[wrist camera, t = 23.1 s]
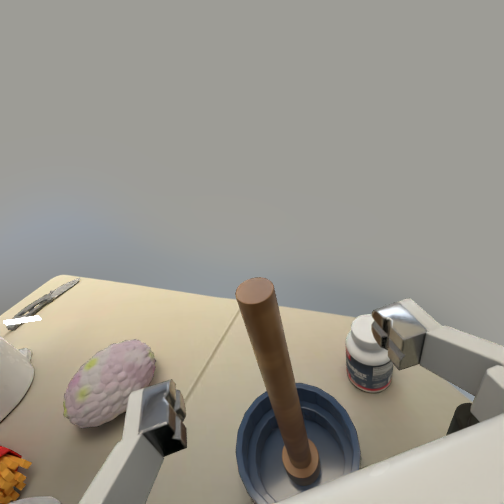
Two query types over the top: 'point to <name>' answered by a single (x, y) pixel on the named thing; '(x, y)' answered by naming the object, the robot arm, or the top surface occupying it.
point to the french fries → (11, 474)
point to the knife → (41, 302)
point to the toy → (37, 500)
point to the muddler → (278, 376)
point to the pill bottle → (367, 357)
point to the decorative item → (108, 383)
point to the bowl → (271, 444)
